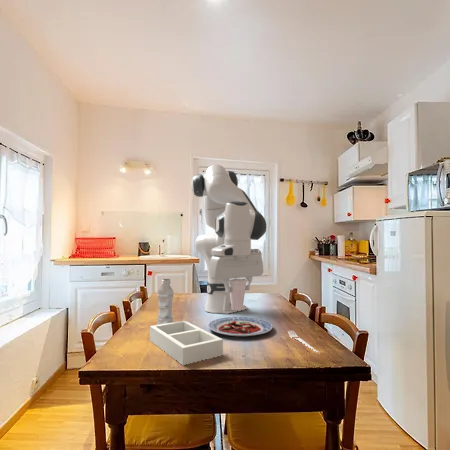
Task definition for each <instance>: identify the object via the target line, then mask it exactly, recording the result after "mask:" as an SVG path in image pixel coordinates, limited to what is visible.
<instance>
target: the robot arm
mask: <svg viewBox="0 0 450 450" xmlns="http://www.w3.org/2000/svg"><path fill="white" fill-rule="evenodd" d="M238 186H239V179H238V176H237V174H236V173H235V171H234V170H233V171H232V170H231V171H230V170H226V168H225V167H224V166H222V165H220V164H217V163H216V164H212V165H210V166H208V168H207V169H206V170H205V173H200V174H199V173H198V174H195V175H194V176H192V178H191V183H190V188H191V191H192V193H193V195H194V196H196V197H198V198H203V210H204V220H205V223H206V225H207V226H208V227H210V228H212V229H213V230H214V232H215V233H205V234H199V235H198V236H197V237H196V239H195V242H194V246H195V249H196V251H197V253H199V255H201V257H202V258H203V259H204V262H205V263H206V269H207V282H206V293H207V296H206V300H205V301H206V303H205V307H204V311H205V312H208V313H210V314H211V313H212V314H226V315H227V314H228V315H229V313H230V314H233V312H234V313H238V312H241V310H232V308H231V299H230V292H232V287H230V286H229V283H228V282H229V279H232V278H244V279H246V280H247V283H246V288H245V291H250V287H251V286H250V285H251V283H252V281H253V277H259V276H260V277H261V276H262V275H263V273H264V261H263V257H262V256H263V254H262V253H263V252H262V251H261V250H260V249H259V248H252V240H253V241H258V240H260V239H261V238H262V237H263V236H264V235H265V234H266V232H267V220H266V218H265V217H264V215H262V213H261V212H260V211H259V210H257V208H256V207H255V205H254V203H253V202H252V200H251V199H250V197H249V196H248V194H247V193H246V192H245V191H244V190H243V189H242V188H240V187H238ZM245 309H246V310H248V306H247V305H244V304H243V309H242V311H246V310H245ZM237 311H238V312H237Z"/></svg>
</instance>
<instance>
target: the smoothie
mask: <svg viewBox="0 0 450 450" xmlns="http://www.w3.org/2000/svg"><path fill="white" fill-rule="evenodd" d="M228 283H229V286H230V287H232V292H230V299H231V308H232V310H242V309H243V305H244V301H245V295H246V294H245V293H246V290H245V288H246V283H247V279H245V278H243V277H241V278H232V279H229V282H228ZM242 311H243V310H242Z"/></svg>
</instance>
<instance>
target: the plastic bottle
mask: <svg viewBox="0 0 450 450" xmlns="http://www.w3.org/2000/svg"><path fill="white" fill-rule="evenodd" d="M160 281H161V282H160V284H161V286H160V287H159V289H158V290H157V300H158V314H157V315H158V316H157V322H156V325H160V324H166V323H173V322H174V317H173V299H174V289H173V288H172V286H171V279H170V278H162V279H161V280H160Z"/></svg>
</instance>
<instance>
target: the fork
mask: <svg viewBox="0 0 450 450" xmlns="http://www.w3.org/2000/svg"><path fill="white" fill-rule="evenodd" d="M287 333H288V336H289V338H291V339H292V337H299V335H297V333H296V331H294V330H287ZM295 339H296V340H295V341H298V342H300V343H301V342H302V343H301V344H303V345H304V344H305V345H304V346H306V347H307V346H308V347H307V348H309V349H310V348H311V349H310V350H312V349H313V350H312V351H314V352H315V351H316V352H315V353H317V352H319V350H317V349H316V348H314V347H313V346H311V345H310V344H309V343H308V342H307V341H305V340H304V339H302V338H301V337H299V338H295Z"/></svg>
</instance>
